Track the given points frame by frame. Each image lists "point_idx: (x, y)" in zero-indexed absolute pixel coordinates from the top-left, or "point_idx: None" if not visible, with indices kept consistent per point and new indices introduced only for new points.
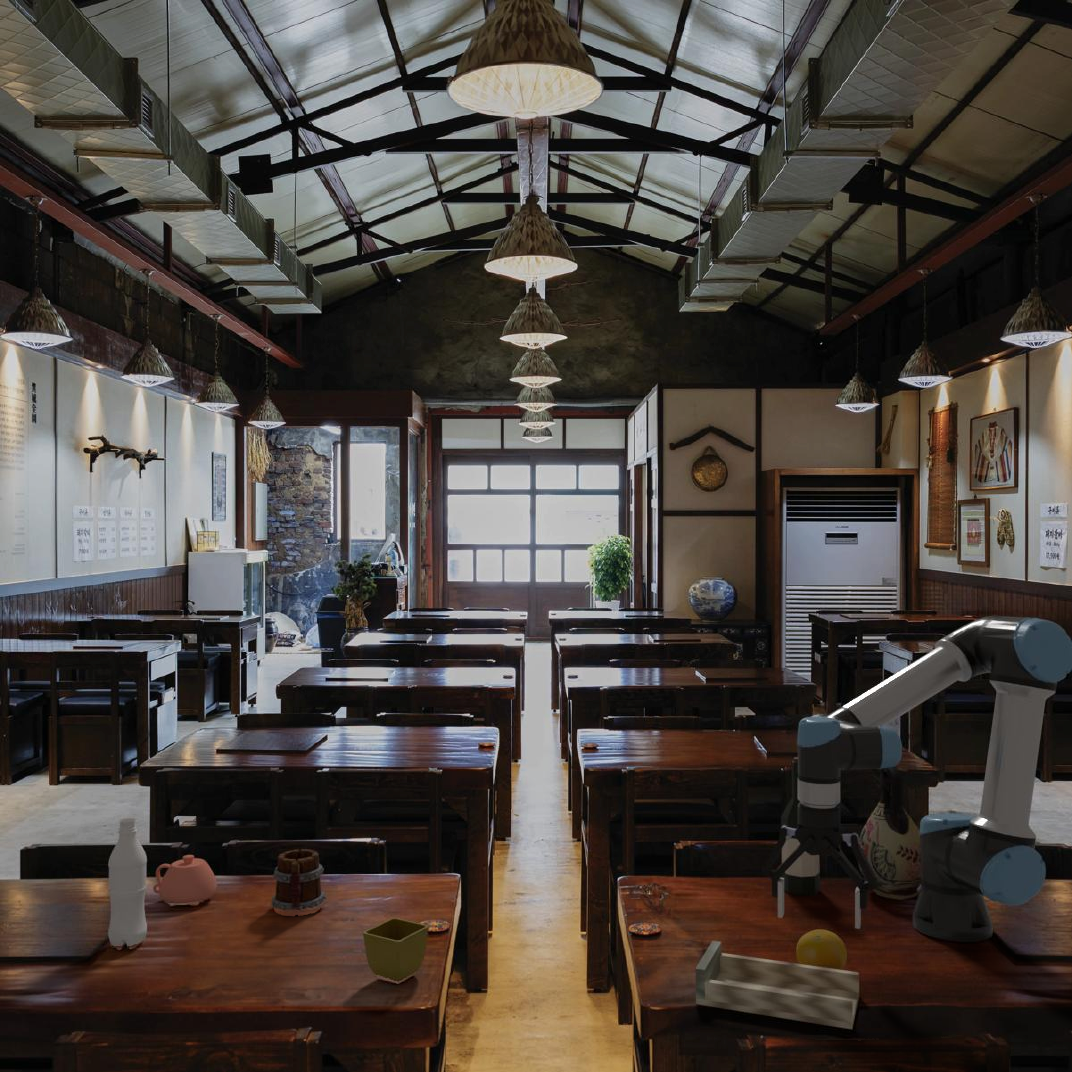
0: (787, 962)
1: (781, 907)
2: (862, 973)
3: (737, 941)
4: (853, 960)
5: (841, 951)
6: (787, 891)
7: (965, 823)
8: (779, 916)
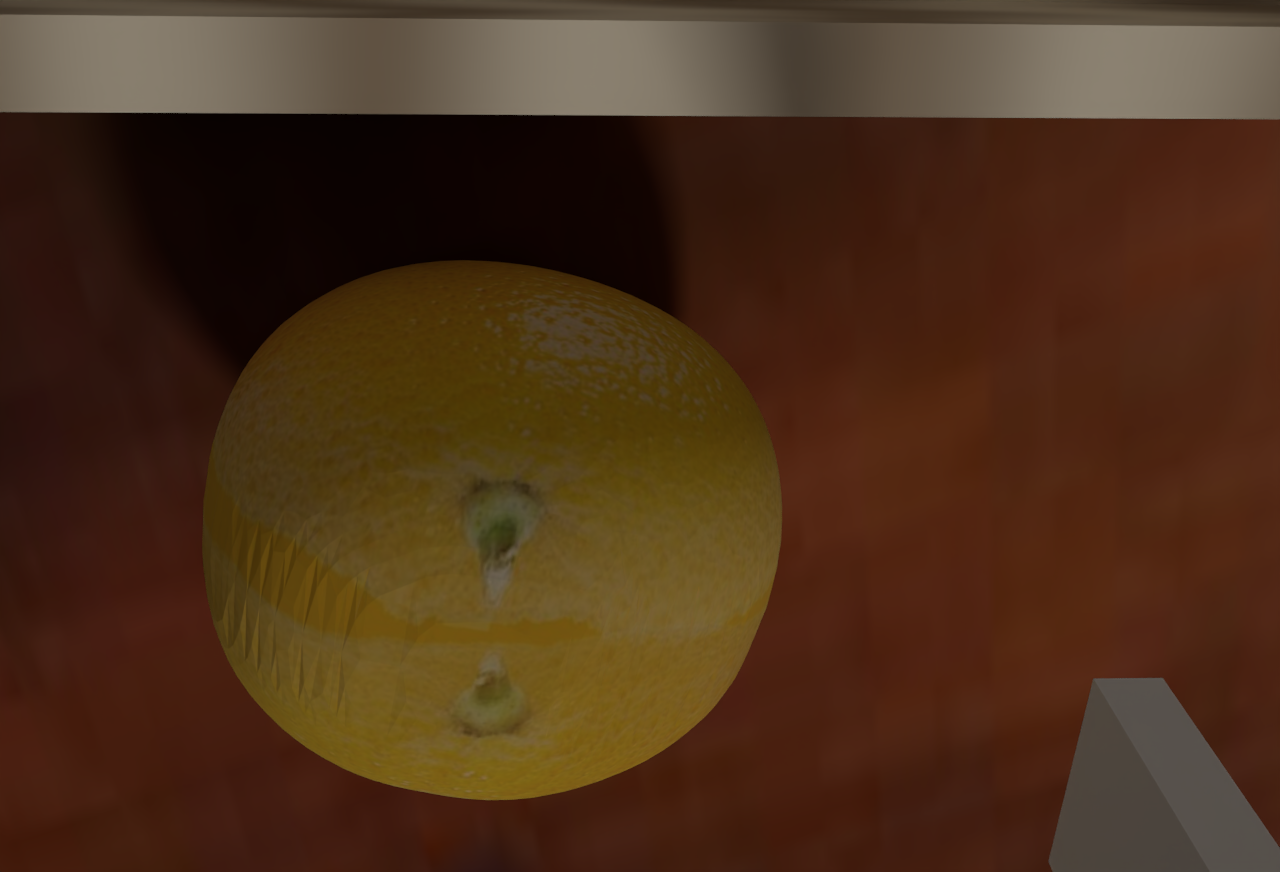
0: (862, 112)
1: (1183, 809)
2: (180, 583)
3: (1262, 819)
4: (315, 791)
5: (215, 471)
6: None
7: None
8: (1142, 689)
